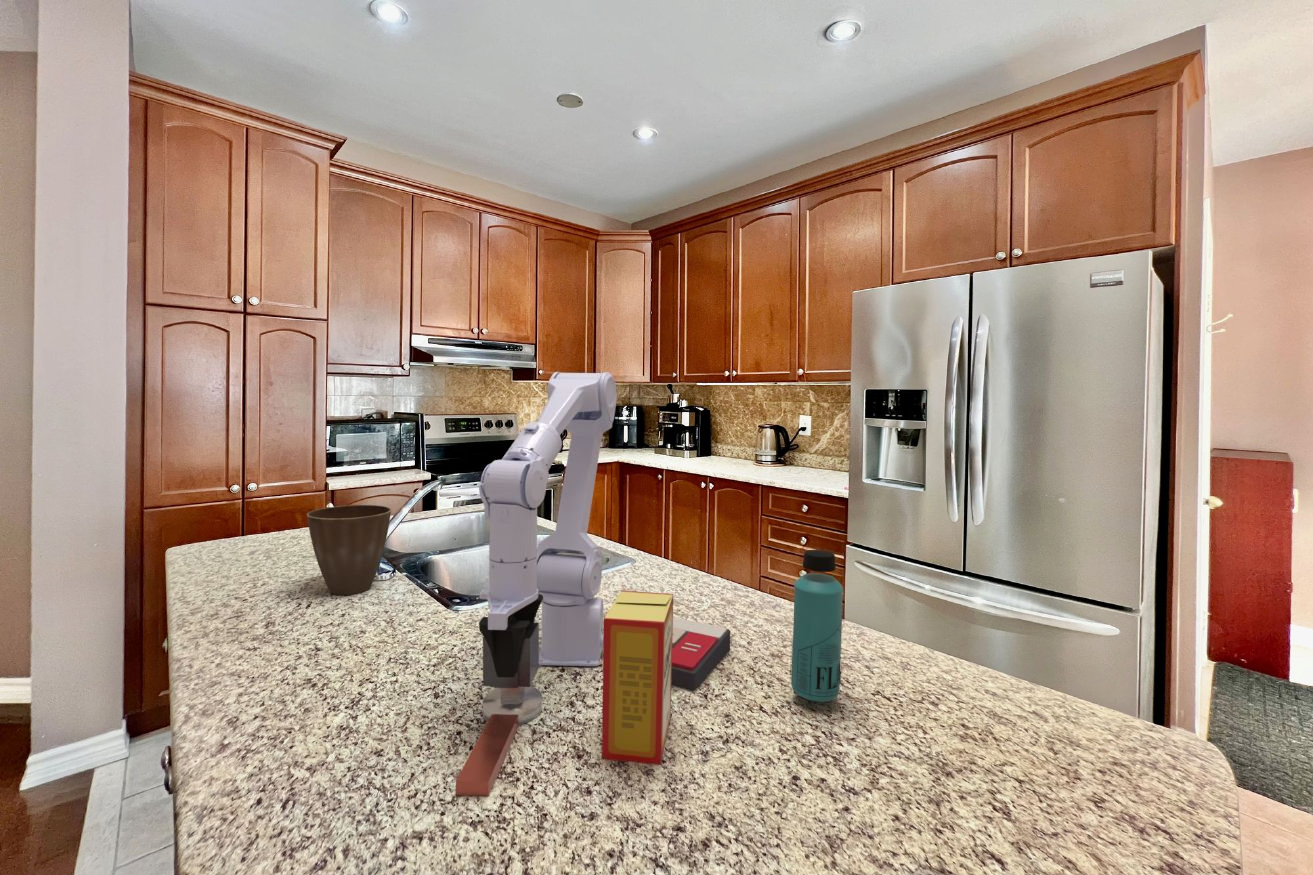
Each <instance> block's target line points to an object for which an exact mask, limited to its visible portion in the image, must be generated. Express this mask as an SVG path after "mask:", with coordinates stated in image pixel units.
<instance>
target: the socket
mask: <svg viewBox="0 0 1313 875" xmlns="http://www.w3.org/2000/svg"><path fill="white" fill-rule="evenodd" d="M539 624H540V622H535V621H534V622H529V624H528V626H527V628H526V630H525V633H524V636H523V639H522V642H521V647H520V653H519V661H518V667H517V671H516V674H515V676H514V677H497V675H496V671H495V668H494V664H493V659H492V655H491V652H490V649H489V646H488V644H487V642H486V640H485V638H484V636H483V637H482V687H493V688H494V689H498V688H518V687H530V686H532V684H533V681H534V679H535V677H536V675H537V673H538V671H539V668H540V665H539V650H540V647H539V646H540V644H539V643H540V641H539V639H540V638H539V637H540V634H539V633H540V632H539V631H540V625H539Z"/></svg>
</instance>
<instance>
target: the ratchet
mask: <svg viewBox="0 0 1313 875" xmlns="http://www.w3.org/2000/svg"><path fill="white" fill-rule="evenodd" d="M542 709H543V694H542V692H541V691H540V690H539V689H537V688H536V687H534V686H532V685H531V686H530V687H518V688H494V689H493V690H492V691H490V692H489V693H487V694H486V695H485V697H483V700H482V717H483V719H484V721H485V722H486V724H485V726H484V728H483V730H482V731H481V733H480V735H479V737H478V739H477V741H476V743H475V745H474V746H473V748H472V750H471V752H470V754H469V756H468V758H467V759H466V762H465V763H464V765H463V766H462V769H461V770H460V773H459V774H458V776H457V778H456V780H455V796H467V797H468V796H470V797H473V796H474V797H476V796H478V797H480V796H481V797H489V796H490V793H491V791H492V789H493V787H494V784H495V782H496V780H497V777H498V775H499V773H500V770H501V767H502V765H503V764H504V761H505V758H506V757H507V754H508V752H509V749H510V747H511V745H512V742H513V741H514V738H515V736H516V733H517V731H518V729H519V726H522V725H524V724H527V723H529V722H531V721H533V720H535V719H536V718H537V717H538V716H539V715H540V714H541V712H542Z"/></svg>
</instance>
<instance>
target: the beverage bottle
mask: <svg viewBox="0 0 1313 875" xmlns="http://www.w3.org/2000/svg"><path fill="white" fill-rule="evenodd" d="M836 566H837V565H836V556H835V554H834V553H833V552H831V551H829V550H824V549H809V550H805V551H804V553H803V561H802V567H803V568H804V569H806V570H808V571H812V572H811V573H804V574H802V575H801V576H800V577H799V578H798V579H797V580H795V581H794V584H793V588H794V592H793V594H794V596H793V597H794V598H793V623H792V624H793V628H792V630H793V631H792V637H791V640H792V641H790V642H791V644H790V646H791V647H790V648H791V649H790V651H791V659H790V662H791V665H790V672H789V673H790V675H789V676H790V677H789V678H790V679H789V680H790V683H791V688H792V690H793V691H794V693H795V694H796V695H798V696H799V697H800V698H803V699H806V700H809V701H813V702H831V701H834V700H835V699H837V697H839V693H840V692H841V684H842V680H841V679H842V678H841V677H842V665H843V664H841V662H842V650H843V649H842V637H843V635H844V633H843V621H844V615H843V613H844V612H843V593H844V587H843V585H842V584H841V583H840V582H839V581H838V579H836V578H835V577H834V576H831V575H829V574H825V573H830V572H834V571H836ZM817 572H819V573H817Z"/></svg>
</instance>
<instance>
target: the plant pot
mask: <svg viewBox="0 0 1313 875" xmlns="http://www.w3.org/2000/svg"><path fill="white" fill-rule="evenodd" d="M391 513H392V508H390V507H389V506H384V505H373V504H354V505H353V504H352V505H338V506H337V505H336V506H331V507H324V508H319V509H314V510H311V511H309V512H307V513H306V518H307V524H308V530H309V531H308V532H309V535H310V540H311V543H312V547H313V552H314V555H315V558H316V562H317V564H318V567H319V569H320V570H319V571H320V573H321V575H322V576H321V577H322V578H323V580H324V582H325V585H326V587H327V589H328V591H329V593H330V594H332V593H333V595H337V596H339V595H340V596H341V595H342V596H345V595H346V596H347V595H348V596H349V595H355V594H360V593H364V592H366V591H368V590H370V589H371V587H372V585H373V583H374V580H375V578H376V575H377V573H378V569H379V566H380V563H381V560H382V557H383V553H384V550H385V546H386V542H387V537H388V532H389V526H390V520H391ZM363 591H364V592H363Z"/></svg>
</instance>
